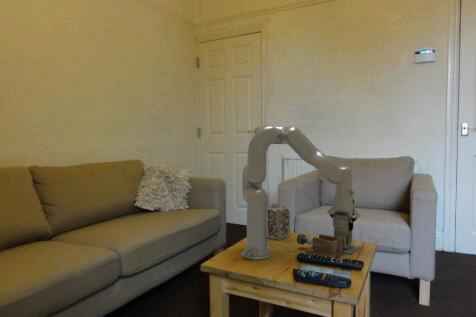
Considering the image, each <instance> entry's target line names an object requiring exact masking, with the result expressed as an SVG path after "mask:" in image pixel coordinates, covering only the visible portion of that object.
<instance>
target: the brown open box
mask: <svg viewBox="0 0 476 317" xmlns="http://www.w3.org/2000/svg"><path fill="white" fill-rule="evenodd" d="M312 238H313V245H311V246H310V247H309V248H307V249H306V250H305V254H307V255H311V254H313V255H312V256H315V255H318V256H317V257H319V256H326V257H331V258H336V259H338V258H340V256H342V255H344V253H343V238H338V237H334V235H328V234H321V233H320V234H319V235H318V237H312Z"/></svg>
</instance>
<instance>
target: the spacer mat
mask: <svg viewBox="0 0 476 317" xmlns="http://www.w3.org/2000/svg"><path fill="white" fill-rule="evenodd" d="M359 249H361V246H359V245H354V244H351V245H350V246H348V247H347V248H343V254H346V255H352V254H354V253H355V252H356V251H358V250H359Z"/></svg>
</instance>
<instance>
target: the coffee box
mask: <svg viewBox="0 0 476 317" xmlns="http://www.w3.org/2000/svg"><path fill="white" fill-rule="evenodd" d="M349 223H350V221H349V217H348V214H344V213H339V212H335V213H334V226H333V237H338V238H343V248H347V247H348V246H350V245H353V230H352V231H349Z"/></svg>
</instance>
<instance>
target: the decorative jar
mask: <svg viewBox="0 0 476 317" xmlns="http://www.w3.org/2000/svg"><path fill="white" fill-rule="evenodd" d="M290 215H291V214H290V211H289V209H288V208H287V207H286V206H283V205H281V203H278V202H277V203H276V202H275V203H274V202H273V203H271V205H268V239H270V240H275V241H282V240H283V239H285V238H288V237H290V236H291V216H290Z"/></svg>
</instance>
